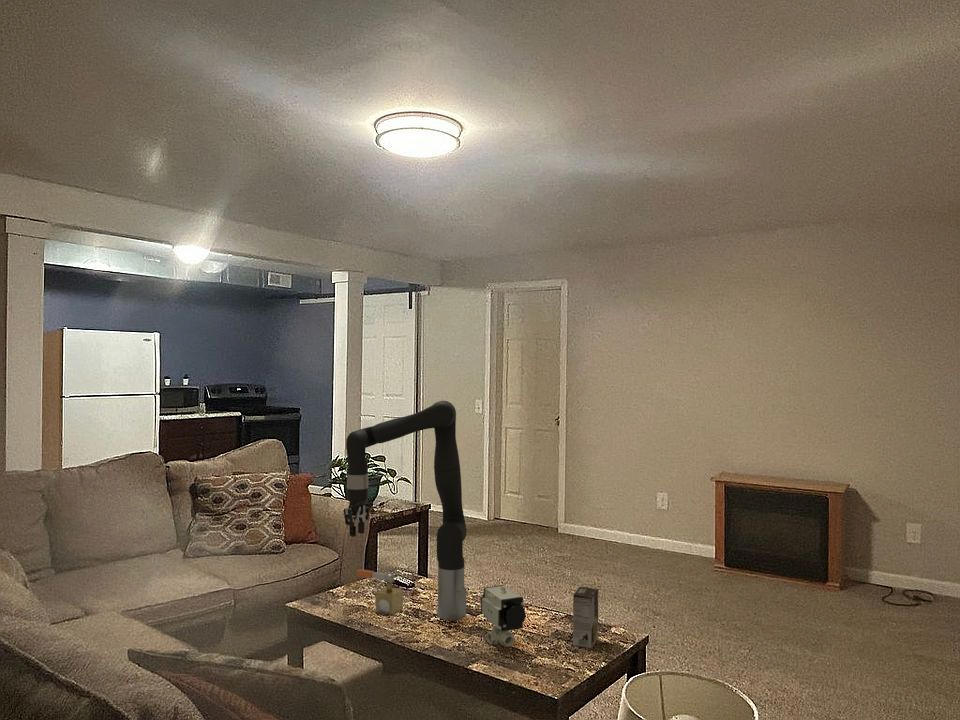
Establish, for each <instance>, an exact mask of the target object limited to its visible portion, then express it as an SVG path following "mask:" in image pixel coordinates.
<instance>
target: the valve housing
mask: <svg viewBox="0 0 960 720" xmlns="http://www.w3.org/2000/svg"><path fill="white" fill-rule="evenodd" d="M403 602H404V590H403V589H401V588H395V587H393V582H391V583H388V582H386V586H385V587H382V589H380V590H378V591H376V592H375V606H374V607H375V609H374V610H375V613H378V614H380V615H383V616H384V615H388V616H394V615H395V614H397V613H399V612H401V610H403V608H404V607H403V606H404V605H403V604H404V603H403Z"/></svg>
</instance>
